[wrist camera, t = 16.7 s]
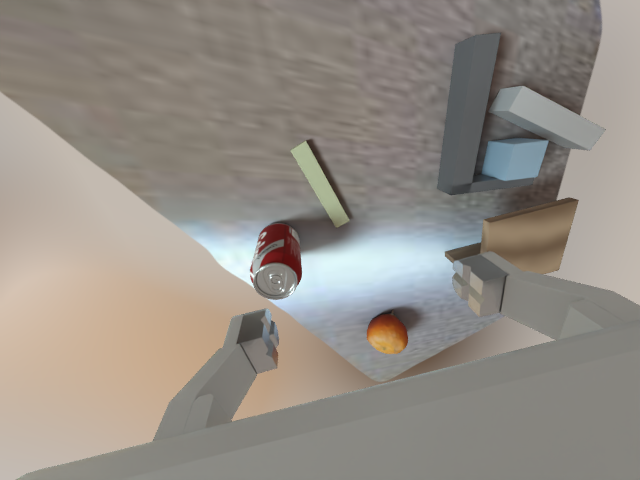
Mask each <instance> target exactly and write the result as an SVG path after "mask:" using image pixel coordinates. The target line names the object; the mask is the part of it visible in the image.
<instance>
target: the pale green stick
mask: <svg viewBox="0 0 640 480" xmlns="http://www.w3.org/2000/svg"><path fill="white" fill-rule="evenodd" d="M291 152H292V154H293V156H294V157H295V159H296V161H297V162H298V164H299V166H300V167H301V169H302V171H303V173H304V174H305V176H306V178H307V179H308V181H309V183H310V184H311V186H312V188H313V190H314V191H315V193H316V195H317V196H318V198H319V200H320V201H321V203H322V205H323V206H324V208H325V210H326V212H327V213H328V215H329V217H330V218H331V220H332V222H333V223H334V225H335V227H336V228H338V227H340V226H341V225H343V224H345V223H347V222H349V219H348V217H347V215H346V213H345V211H344V210H343V208H342V206H341V204H340V202H339V200H338V199H337V197H336V195H335V193H334V191H333V189H332V188H331V186H330V184H329V182H328V180H327V179H326V177H325V175H324V173H323V171H322V169H321V168H320V166H319V164H318V162H317V160H316V158H315V157H314V155H313V153H312V151H311V149H310V148H309V146H308V144H307V142H306V140H305V141H304V142H302V143H301V144H299V145H297V146H296V147H294V148H293V149H291Z"/></svg>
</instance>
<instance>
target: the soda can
mask: <svg viewBox="0 0 640 480" xmlns="http://www.w3.org/2000/svg"><path fill="white" fill-rule="evenodd" d="M250 277H251V280H252V282H253V285H254V288H255V290H256V291H257V292H258V293H259V294H260V295H261V296H263V297H265V298H268V299H273V300H278V299H283V298H286V297H288V296H289V295H291V294H292V293H293V292H294V291H295V289H296V287H297V285H298V284H299V282H300V280H301V277H302V267H301V254H300V241H299V236H298V234H297V232H296V231H295V230H294V229H293V228H292V227H291V226H289V225H287V224H283V223H274V224H271V225H268V226H267V227H265V228H264V229H263V230H262V231H261V233H260V235H259V238H258V242H257V246H256V250H255V253H254V257H253V261H252V265H251V269H250Z"/></svg>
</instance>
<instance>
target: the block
mask: <svg viewBox="0 0 640 480" xmlns="http://www.w3.org/2000/svg"><path fill="white" fill-rule="evenodd" d="M548 141H549V140H539V139H528V138H513V139H504V140H496V141H488V145H487V150H486V155H485V160H484V164H483V169H482V174H483V175H487V176H490V177H494V178H497V179H500V180H504V181H508V180H516V179H524V178H532V177H537V176H538V173H539V170H540V167H541V164H542V161H543V157H544V154H545V151H546V148H547V145H548Z"/></svg>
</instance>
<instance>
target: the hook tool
mask: <svg viewBox="0 0 640 480" xmlns="http://www.w3.org/2000/svg"><path fill="white" fill-rule="evenodd" d="M500 35H501V33H493V34H482V35H475V36H473V37H471V38H468V39H466V40H464V41H462V42H459V43H457V44H455V52H454V60H453V68H452V76H451V83H450V91H449V99H448V107H447V115H446V122H445V130H444V138H443V146H442V154H441V162H440V169H439V177H438V185H437V189H439V190H441V191H443V192H445V193H447V194H449V195H456V194H464V193H472V192H480V191H488V190H495V189H503V188H511V187H519V186H526V185H532V184H533V181H534V177H532V178H524V179H516V180H508V181H504V180H500V179H497V178H494V177H490V176H487V175H483V174H478V175H474V169H475V164H476V159H477V154H478V149H479V143H480V138H481V133H482V128H483V123H484V118H485V112H486V107H487V102H488V97H489V92H490V87H491V81H492V76H493V71H494V66H495V61H496V55H497V50H498V45H499V40H500Z"/></svg>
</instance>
